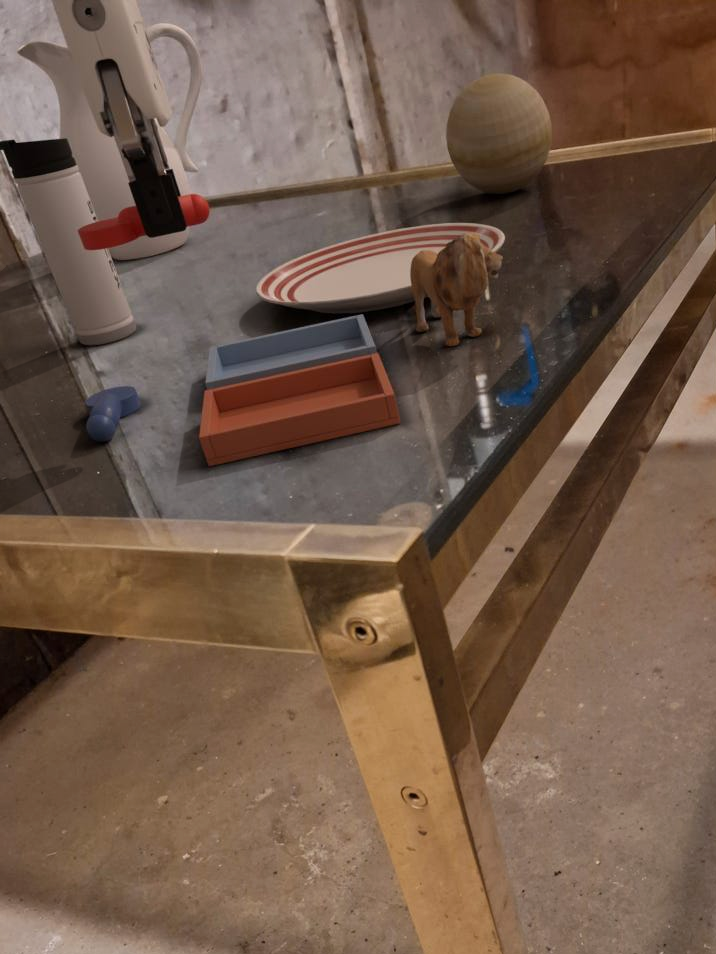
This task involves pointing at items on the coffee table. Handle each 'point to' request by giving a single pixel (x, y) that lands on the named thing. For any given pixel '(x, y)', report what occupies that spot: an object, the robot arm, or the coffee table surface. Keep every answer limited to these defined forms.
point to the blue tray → (288, 351)
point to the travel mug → (70, 238)
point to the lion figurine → (453, 282)
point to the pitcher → (101, 151)
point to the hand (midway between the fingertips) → (168, 228)
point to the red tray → (296, 409)
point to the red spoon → (136, 224)
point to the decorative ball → (499, 133)
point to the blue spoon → (110, 410)
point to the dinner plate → (364, 269)
